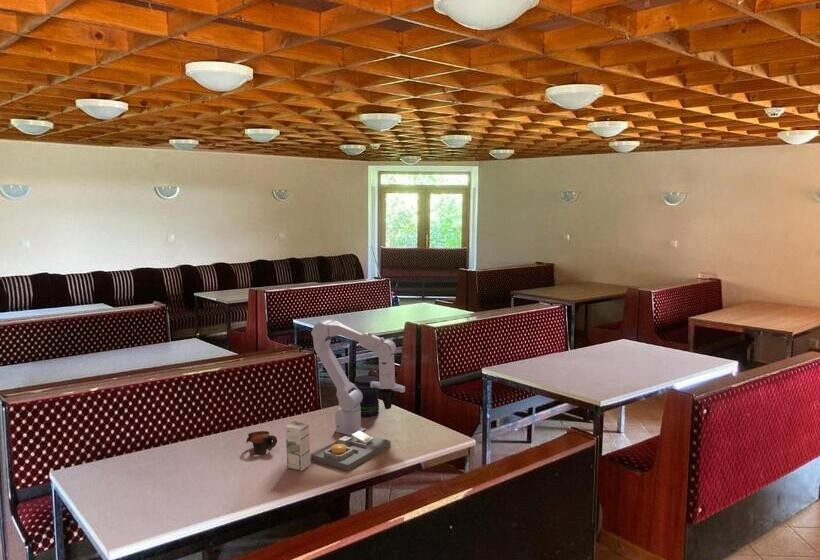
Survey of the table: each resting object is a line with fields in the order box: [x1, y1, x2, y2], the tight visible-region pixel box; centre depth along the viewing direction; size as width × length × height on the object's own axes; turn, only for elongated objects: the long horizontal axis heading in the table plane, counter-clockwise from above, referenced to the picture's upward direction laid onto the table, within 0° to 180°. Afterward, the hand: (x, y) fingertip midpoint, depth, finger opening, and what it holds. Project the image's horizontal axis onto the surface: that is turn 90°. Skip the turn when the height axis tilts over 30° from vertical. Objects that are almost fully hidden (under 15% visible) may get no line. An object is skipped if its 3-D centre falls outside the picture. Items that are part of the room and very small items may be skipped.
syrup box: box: [285, 421, 311, 472], centre depth 199 cm, size 6×6×14 cm
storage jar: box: [354, 374, 380, 418], centre depth 249 cm, size 10×10×15 cm
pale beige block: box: [337, 435, 352, 447], centre depth 212 cm, size 3×4×2 cm
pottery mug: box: [245, 430, 278, 457], centre depth 213 cm, size 12×10×8 cm
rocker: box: [352, 431, 373, 444], centre depth 215 cm, size 6×4×1 cm
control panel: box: [310, 432, 392, 471], centre depth 210 cm, size 16×24×3 cm, turn 147°
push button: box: [331, 444, 346, 455], centre depth 204 cm, size 5×5×2 cm
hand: (388, 408), depth 225 cm, fingers closed
